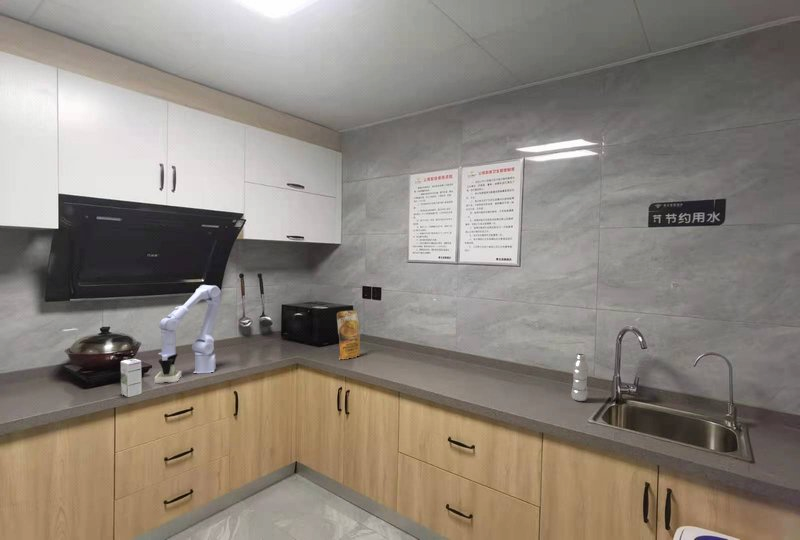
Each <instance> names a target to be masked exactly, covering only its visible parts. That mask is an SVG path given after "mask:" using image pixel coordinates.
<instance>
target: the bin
mask: <svg viewBox="0 0 800 540" xmlns="http://www.w3.org/2000/svg"><path fill="white" fill-rule="evenodd" d="M180 377H181V378H182V370H175V376H163V377H162V371H159V372H158V373H157V374H156V376H154V384H155V383H160V384H164V383H163V382H175V381H178V380H179V381H180V379H181V378H180ZM179 378H180V379H179ZM179 381H178V382H179Z"/></svg>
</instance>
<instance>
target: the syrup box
mask: <svg viewBox="0 0 800 540" xmlns="http://www.w3.org/2000/svg"><path fill="white" fill-rule="evenodd" d="M142 385H143V384H142V360H140V359H137V358H129V359H125V360H121V361H120V395H121V394H122V396H123V395H124V396H123V397H125V398H130V397H134V396H139V395H142V393H143V391H142Z"/></svg>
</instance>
